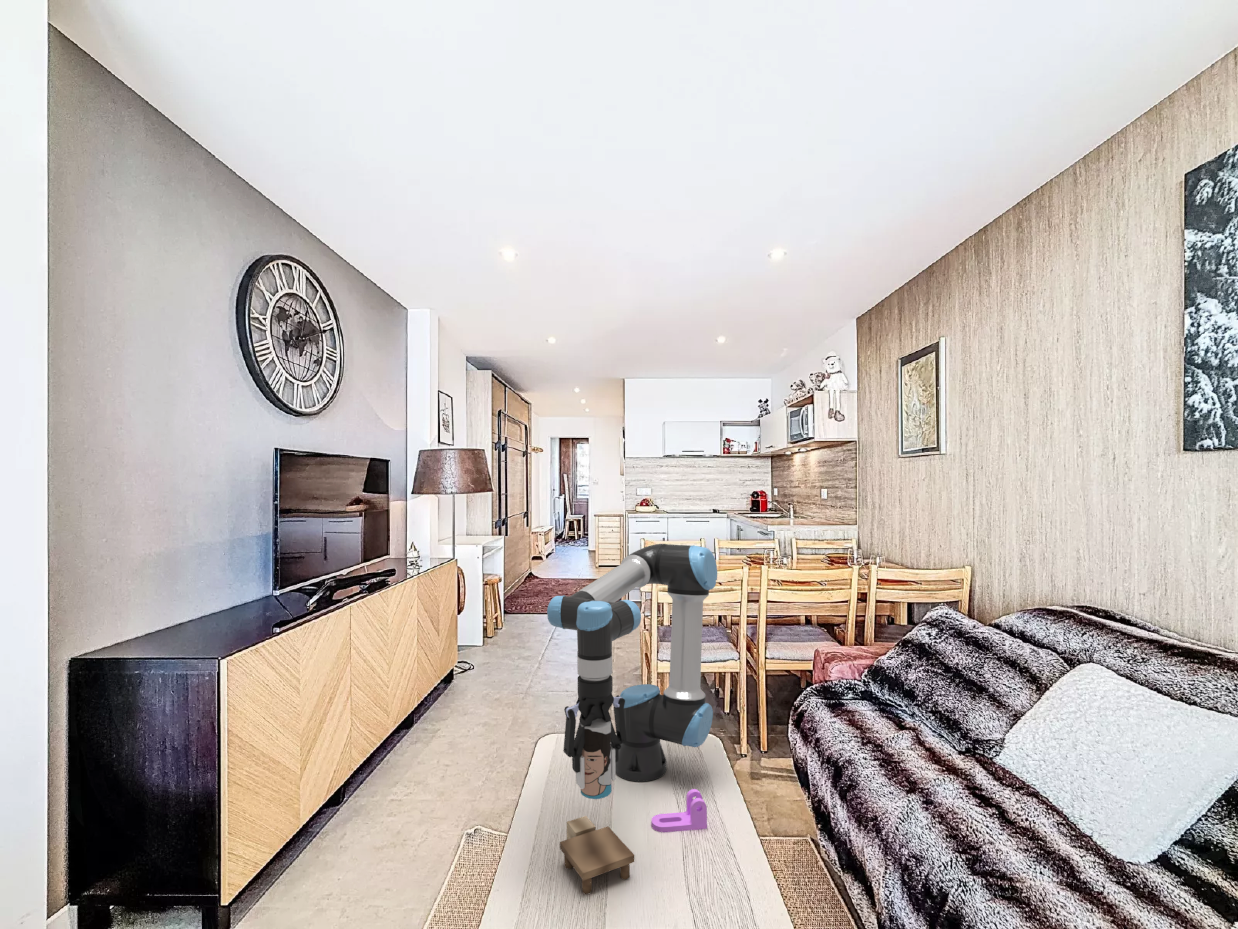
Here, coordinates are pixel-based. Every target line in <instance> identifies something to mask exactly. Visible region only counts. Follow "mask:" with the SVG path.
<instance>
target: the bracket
mask: <svg viewBox="0 0 1238 929" xmlns="http://www.w3.org/2000/svg"><path fill="white" fill-rule="evenodd" d="M685 798H686V800H685V801H686V808H685V809H686V810H685V811H682V812H680V811H679V812H670V813H659V814H655V815H653V816H652V817H651V820H650V821H651V822H650V823H651V828H652V829H653V830H654V831H656V832H659V833H672V832H675V833H676V832H685V831H696V830H698V831H699V830H706V829H708V808H707V807H708V806H707V804H706V802H705V800H704V799H703V796H702V794H701V791H699V790H698V789H696V788H691V789H690V790H689V791H687V793H686V797H685Z"/></svg>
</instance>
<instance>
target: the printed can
mask: <svg viewBox="0 0 1238 929" xmlns="http://www.w3.org/2000/svg"><path fill="white" fill-rule="evenodd" d="M611 722H612V719H611V720H610V721H608V722H606V721H604V720H603V719H596V720H593V721H592V724H591V726H585V744H584V747H583V750H582V754H581V755H582V756H583V757H584V767H585V788H584V789H581V788H580V794H581V795H582V796H583V797H584V798H587V799H590V800H600V799H604V798H607V797H609V796H610V795H611V793H612V779H611ZM579 723H580V722H579ZM580 725H581V727H583V725H582V724H581V723H580Z"/></svg>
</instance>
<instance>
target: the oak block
mask: <svg viewBox="0 0 1238 929" xmlns="http://www.w3.org/2000/svg"><path fill="white" fill-rule="evenodd" d="M595 830H597V829H596V826H595V824H594V823H593V821H591V820H590V818H589V817H588V816H587V815H584V816H581V817H577V818H574V819H570V820H568V821H566V840H567V839H570V838H573V837H576V836H580V835H583V834H586V833H589V832H592V831H595Z"/></svg>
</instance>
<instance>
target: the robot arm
mask: <svg viewBox="0 0 1238 929" xmlns="http://www.w3.org/2000/svg"><path fill="white" fill-rule="evenodd" d="M717 565H718V564H717V561H716V558H715V555H714V554H713V552H712V551H711V550H710V549H709V548H707V547H705V546H698V545H694V544H693V545H687V544H685V545H684V544H671V543H669V544H668V543H667V544H666V543H657V544H656V543H655V544H652V545H651V544H650V545H648V546H645V547H643V548H641V549H638V550H635V551H634V552H631V553H630V554H628V555H627V556H625V557H624V558H623V559H622V561H621V563H620V564H619V565H617V566H616V567H614V568H613V569H611V570H610V571H608V572H606V573H605V574H602V576H600V577H599V578H597V579H595V580H594V581H592V582H591V583H589V584H587V585H586V586H584V587H583V588H581V589H580V590H578V591H576V592H575V593H573V594H571V595H570V596H567V595H556V596H554V597H552V598H551V600H550V601H549V602H548V605H547V609H546V613H547V614H546V615H547V621H548V622H549V624H550V625H551V626H553V627H556V628H561V629H563V630H571V631H572V630H573V631H576V633H577V634H576V639H577V656H576V657H577V659H576V660H577V662H576V663H577V675H578V676H577V696H578V697H577V699H576V700H577V701H576V703H575V704H574V705H572V706H565V707H564V715H565V728H564V740H563V741H564V742H563V753H564V754H565V755H566V756H567V757H568V758H572V759H571V763H572V764H571V765H572V770H573V772H574V773H575V784H576V785H577V786H578V787H579V788H580V790H581V789H584V788H585V767H584V757H583V756H582V755H581V754H582V750H583V747H584V744H585V726H591V724H592V721H593V720H596V719H603V720H604V721H606V722H608V721H610V720H611V781H615V780H616V775H617V776H618V777H620V778H621V779H624V780H627V781H631V782H638V783H639V782H650V781H655V780H657V779H659V778H662V777H663V776H664V775H665V774H666V772H667V759H666V755H665V753H664V749H663V747H662V744H661V741H666V742H669V743H673V744H677V745H682V746H683V747H692V748H699V747H701V746H702V745H703V744H704V743H705V741H706V740H707V738H708V736H709V734H710V731H711V728H712V724H713V718H714V717H713V716H714V711H713V707H712V705H711V704H709V703H708V702H706V693H705V692H704V691H703V690H702V689H701V680H702V679H701V678H702V677H701V674H702V671H701V670H702V648H703V647H702V646H703V643H702V642H703V641H702V640H703V618H704V617H703V616H704V613H703V612H704V601H705V600H706V599H707V597H709V596H710V591H711V590H713V589H714V588H715V587H716V585H717V580H718V566H717ZM650 584H651V585H653V584H654V585H664V586H667V595H668V596H669V597H670V598H671V600H672V604H671V606H672V607H671V631H670V653H669V654H670V655H669V656H670V659H669V684H668V687H666V688H665V689H664V690H663V694H661V690H660V687H659V686H658V685H655V684H649V683H645V684H644V683H643V684H635V685H631V686H629V687H626V688H625V689H624V690H622V691H621V692H620V695H616V696H614V695H613V676H612V674H613V641H616V640H618V639H619V638H623V637H624V636H626V635H629V634H632V632H633V631H634V630H636V629H637V628H638V627H639V626H640V624H641V621H642V613H641V609H640V607H639V606H638V605H637V603H636V602H634V601H632V600H630V599H622V598H623V597H624V596H626V595H627V594H629V593H630V592H632V591H633V590H634V589H636V588H638V589H639V588H644V587H645V586H646V585H650ZM612 706H613V715H614V725H613V723H612V722H613V721H612V717H611V714H610V711H609V710H610V709H611V707H612ZM578 711H579V712H580V715H579V723H578V726H576V725H577V719H576V718H577V717H578ZM580 723H581V724H582V725H583V727H581V725H580ZM614 726H615V727H614ZM576 728H577V730H576Z"/></svg>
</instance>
